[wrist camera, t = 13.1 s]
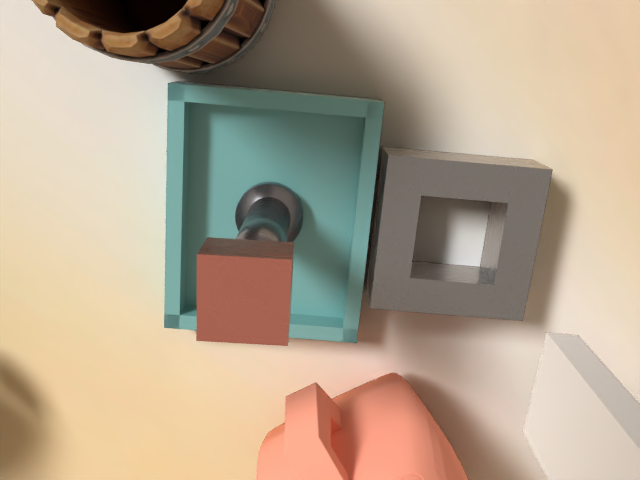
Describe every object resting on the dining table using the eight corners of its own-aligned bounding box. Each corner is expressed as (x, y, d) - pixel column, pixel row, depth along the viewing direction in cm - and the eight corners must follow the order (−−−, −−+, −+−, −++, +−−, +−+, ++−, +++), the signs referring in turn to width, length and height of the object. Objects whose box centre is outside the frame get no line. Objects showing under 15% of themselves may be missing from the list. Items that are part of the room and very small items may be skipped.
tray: (177, 81, 39) (168, 83, 37) (380, 99, 39) (384, 102, 37) (172, 312, 44) (164, 327, 41) (354, 327, 44) (356, 342, 42)
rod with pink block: (236, 244, 41) (191, 344, 27) (237, 179, 40) (192, 249, 26) (301, 247, 41) (292, 350, 27) (305, 183, 40) (296, 255, 26)
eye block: (382, 146, 40) (388, 154, 37) (533, 159, 41) (552, 169, 37) (366, 288, 43) (370, 308, 40) (506, 300, 43) (522, 320, 40)
